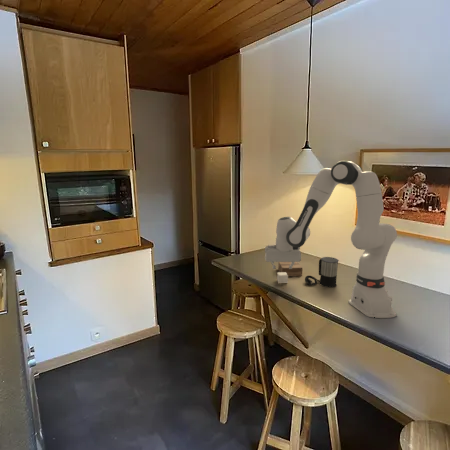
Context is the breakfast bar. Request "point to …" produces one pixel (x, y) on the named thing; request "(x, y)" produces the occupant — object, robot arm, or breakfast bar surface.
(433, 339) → the breakfast bar surface
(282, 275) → the cube
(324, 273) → the milk frother
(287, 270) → the walnut base
